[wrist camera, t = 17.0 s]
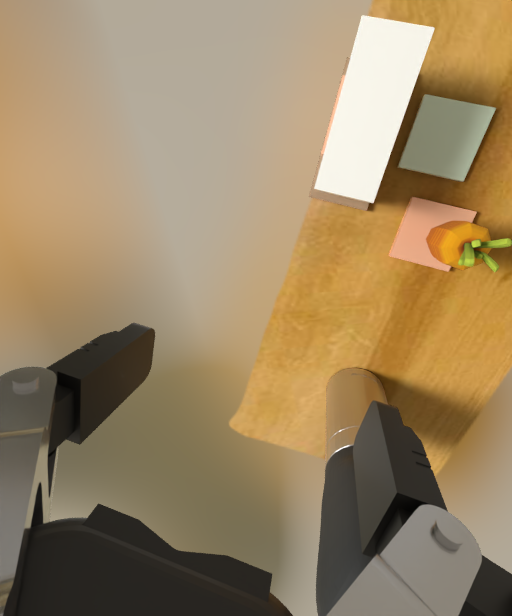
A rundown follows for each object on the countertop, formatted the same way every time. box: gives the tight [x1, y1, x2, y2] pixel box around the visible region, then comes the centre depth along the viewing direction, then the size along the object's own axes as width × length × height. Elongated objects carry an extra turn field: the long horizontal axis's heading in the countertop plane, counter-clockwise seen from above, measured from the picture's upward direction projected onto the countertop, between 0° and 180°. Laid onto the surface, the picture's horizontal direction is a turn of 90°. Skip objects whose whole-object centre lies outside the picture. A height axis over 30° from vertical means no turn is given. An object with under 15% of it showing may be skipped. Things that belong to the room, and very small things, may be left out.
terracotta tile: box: [389, 197, 477, 272], centre depth 42 cm, size 8×8×1 cm
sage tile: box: [397, 94, 496, 182], centre depth 38 cm, size 8×8×1 cm
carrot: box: [426, 221, 512, 272], centre depth 35 cm, size 5×5×15 cm
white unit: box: [309, 16, 435, 211], centre depth 35 cm, size 16×8×13 cm, turn 167°
